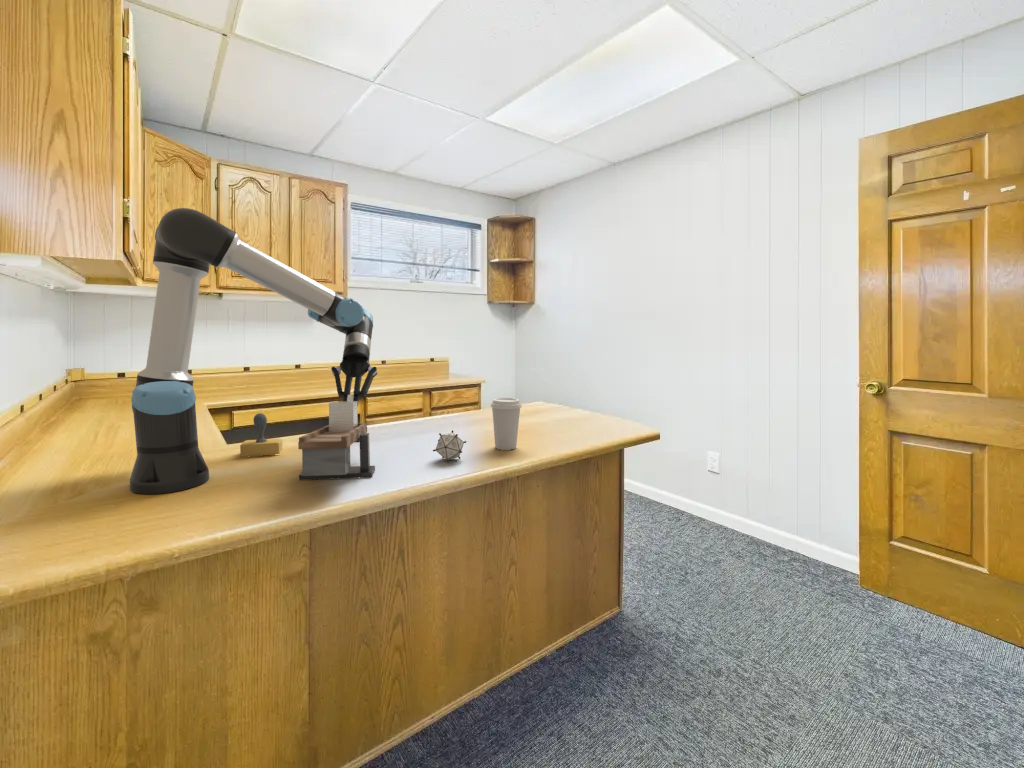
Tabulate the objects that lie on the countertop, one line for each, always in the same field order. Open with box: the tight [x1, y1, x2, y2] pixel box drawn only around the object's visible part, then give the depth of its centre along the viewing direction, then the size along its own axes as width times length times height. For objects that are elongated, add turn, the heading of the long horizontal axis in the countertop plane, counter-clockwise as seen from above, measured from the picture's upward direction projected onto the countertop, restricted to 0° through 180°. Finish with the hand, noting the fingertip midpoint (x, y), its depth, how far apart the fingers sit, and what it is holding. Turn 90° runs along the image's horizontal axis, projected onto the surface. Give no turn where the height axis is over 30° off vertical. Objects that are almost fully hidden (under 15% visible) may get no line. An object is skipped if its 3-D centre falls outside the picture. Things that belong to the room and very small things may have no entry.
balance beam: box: [297, 422, 368, 476], centre depth 120 cm, size 30×10×8 cm, turn 8°
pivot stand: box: [298, 432, 376, 480], centre depth 120 cm, size 6×17×10 cm, turn 98°
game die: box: [432, 429, 467, 464], centre depth 135 cm, size 9×8×10 cm
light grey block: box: [328, 400, 359, 432], centre depth 126 cm, size 6×6×8 cm
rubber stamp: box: [239, 412, 284, 458], centre depth 139 cm, size 10×6×12 cm, turn 106°
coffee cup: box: [490, 397, 523, 451], centre depth 148 cm, size 10×10×15 cm
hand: (348, 417), depth 131 cm, fingers closed
